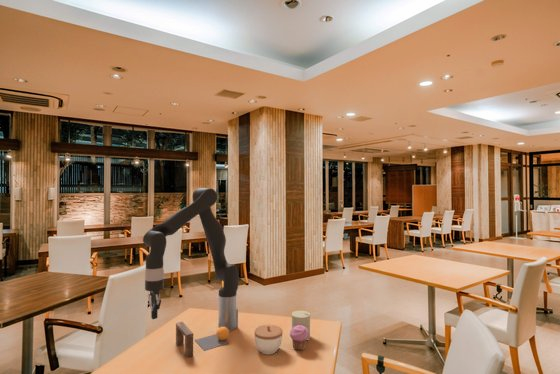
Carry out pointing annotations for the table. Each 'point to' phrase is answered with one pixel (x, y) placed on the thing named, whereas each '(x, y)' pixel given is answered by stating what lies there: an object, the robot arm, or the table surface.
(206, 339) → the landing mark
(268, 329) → the lidded bowl
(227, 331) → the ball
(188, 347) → the bridge
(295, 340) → the cupcake
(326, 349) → the table surface
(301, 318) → the can
